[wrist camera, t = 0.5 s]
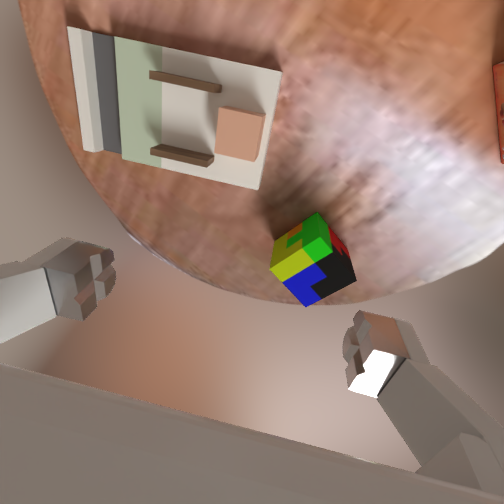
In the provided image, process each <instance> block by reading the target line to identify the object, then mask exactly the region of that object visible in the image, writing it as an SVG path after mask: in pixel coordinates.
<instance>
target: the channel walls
mask: <svg viewBox="0 0 504 504" xmlns="http://www.w3.org/2000/svg"><path fill="white" fill-rule="evenodd" d="M149 79H152V80H157V81H161V82H166V83H170V84H175V85H179V86H184V87H189V88H193V89H198V90H202V91H207V92H211V93H221V92H222V85H221V84H216V83H211V82H207V81H202V80H198V79H193V78H188V77H184V76H179V75H175V74H170V73H165V72H160V71H152V70H149ZM150 155H153V156H158V157H162V158H167V159H171V160H175V161H180V162H184V163H188V164H193V165H197V166H201V167H206V168H207V167H208V166H210V165H211V164H212V163H213V162H214V158H215V156H214V155H209V154H205V153H201V152H196V151H192V150H187V149H183V148H179V147H174V146H170V145H165V144H159V145H157V146H154V147H151V148H150Z"/></svg>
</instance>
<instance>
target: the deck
mask: <svg viewBox="0 0 504 504" xmlns="http://www.w3.org/2000/svg"><path fill="white" fill-rule="evenodd" d="M67 29H68V37H69V44H70V52H71V59H72V67H73V74H74V81H75V89H76V96H77V104H78V111H79V118H80V126H81V133H82V141H83V148H84V150H86V151H90V152H98V151H101V150H107V151H111V152H115V153H120V154H122V159H125V160H129V161H134V162H138V163H142V164H147V165H151V166H155V167H160V168H164V169H168V170H173V171H177V172H181V173H186V174H190V175H194V176H199V177H203V178H207V179H211V180H216V181H220V182H224V183H229V184H233V185H237V186H242V187H246V188H250V189H255V190H258V189H259V187H260V184H261V179H262V174H263V169H264V164H265V159H266V154H267V149H268V144H269V139H270V135H271V130H272V125H273V120H274V115H275V110H276V105H277V100H278V95H279V90H280V85H281V80H282V75H283V73H282V72H280V71H275V70H270V69H266V68H261V67H256V66H252V65H247V64H242V63H238V62H233V61H228V60H224V59H219V58H214V57H210V56H205V55H200V54H195V53H191V52H186V51H181V50H177V49H172V48H167V47H163V46H158V45H153V44H149V43H144V42H139V41H135V40H130V39H125V38H121V37H116V36H114V37H113V36H108V35H103V34H98V33H94V32H90V31H86V30H82V29H78V28H74V27H69V26H67ZM149 70H152V71H160V72H165V73H170V74H175V75H179V76H184V77H188V78H193V79H198V80H202V81H207V82H211V83H216V84H221V85H222V92H221V93H211V92H207V91H202V90H198V89H193V88H189V87H184V86H179V85H175V84H170V83H166V82H161V81H157V80H152V79H149ZM223 106H230V107H235V108H239V109H244V110H249V111H253V112H258V113H262V114H266V118H265V124H264V129H263V134H262V140H261V145H260V150H259V155H258V157H257V159H256V160H255V162H251V161H247V160H243V159H238V158H234V157H229V156H225V155H221V154H216V153H214V149H215V140H216V131H217V121H218V112H219V107H223ZM159 144H165V145H170V146H174V147H179V148H183V149H187V150H192V151H196V152H201V153H205V154H209V155H214V156H215V158H214V162H213V163H212V164H211V165H210V166H208V167H207V168H206V167H201V166H197V165H193V164H188V163H184V162H180V161H175V160H171V159H167V158H162V157H158V156H153V155H150V148H151V147H154V146H157V145H159Z"/></svg>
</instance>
